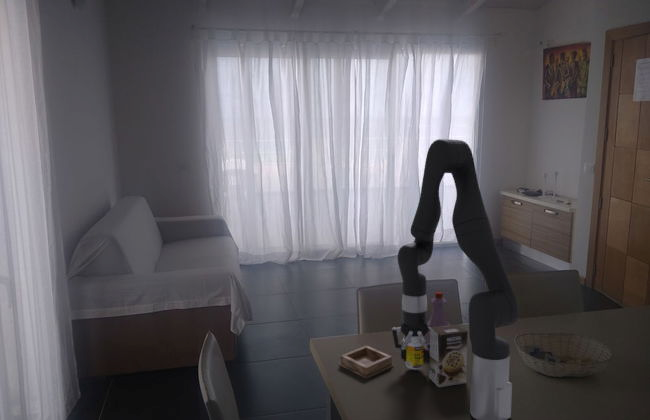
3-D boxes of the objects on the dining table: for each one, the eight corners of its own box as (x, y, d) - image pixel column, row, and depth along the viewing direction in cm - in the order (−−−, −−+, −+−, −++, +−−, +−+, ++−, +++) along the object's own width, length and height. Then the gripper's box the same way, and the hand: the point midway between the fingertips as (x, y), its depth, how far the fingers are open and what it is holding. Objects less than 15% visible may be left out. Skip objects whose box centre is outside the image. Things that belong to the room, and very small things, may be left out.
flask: (473, 355, 167) (475, 296, 164) (430, 364, 161) (431, 304, 158) (444, 336, 182) (445, 282, 179) (404, 344, 176) (404, 289, 173)
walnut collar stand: (393, 366, 160) (393, 356, 160) (366, 378, 153) (366, 368, 152) (366, 354, 170) (366, 344, 169) (339, 365, 162) (339, 355, 161)
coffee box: (438, 388, 147) (439, 335, 144) (428, 378, 153) (429, 326, 150) (467, 383, 149) (468, 331, 146) (455, 373, 155) (457, 323, 152)
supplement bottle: (414, 372, 153) (414, 339, 152) (401, 365, 158) (401, 334, 156) (427, 367, 156) (427, 335, 155) (414, 360, 161) (414, 329, 159)
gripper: (436, 303, 157) (436, 355, 160) (389, 303, 159) (390, 354, 161) (440, 311, 150) (439, 366, 153) (391, 311, 151) (391, 365, 154)
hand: (414, 359), depth 157 cm, fingers closed on supplement bottle, 5 cm apart
